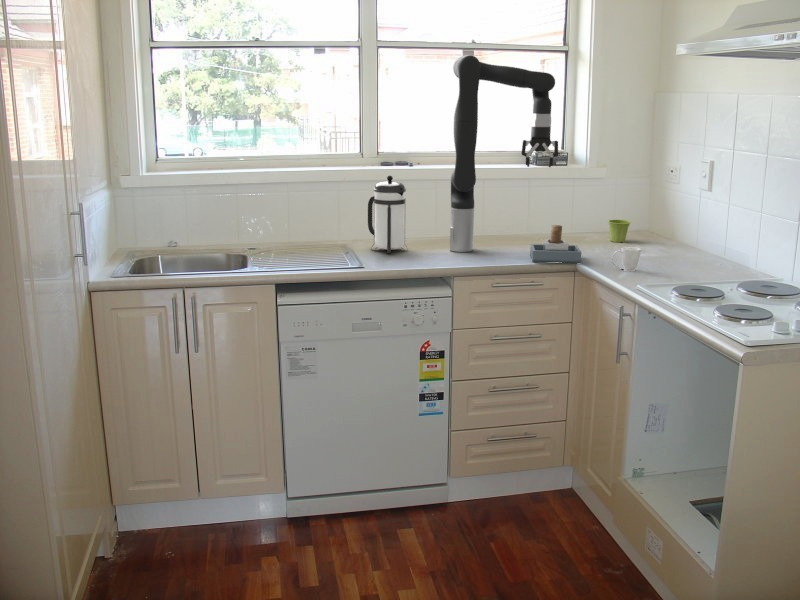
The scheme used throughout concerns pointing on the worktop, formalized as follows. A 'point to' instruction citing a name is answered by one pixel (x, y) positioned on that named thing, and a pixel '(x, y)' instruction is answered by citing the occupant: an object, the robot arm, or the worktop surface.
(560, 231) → the peg
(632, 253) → the cup
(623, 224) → the plant pot
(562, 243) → the bore block
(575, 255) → the bin
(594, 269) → the worktop surface
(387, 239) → the coffee press
